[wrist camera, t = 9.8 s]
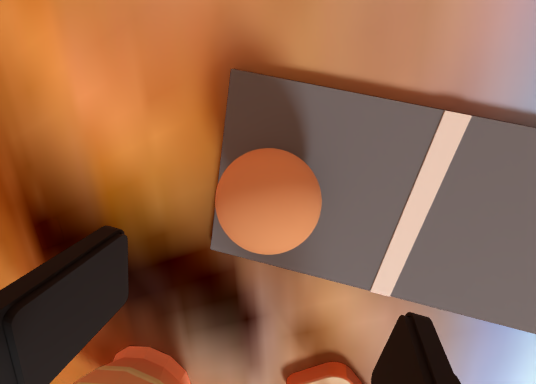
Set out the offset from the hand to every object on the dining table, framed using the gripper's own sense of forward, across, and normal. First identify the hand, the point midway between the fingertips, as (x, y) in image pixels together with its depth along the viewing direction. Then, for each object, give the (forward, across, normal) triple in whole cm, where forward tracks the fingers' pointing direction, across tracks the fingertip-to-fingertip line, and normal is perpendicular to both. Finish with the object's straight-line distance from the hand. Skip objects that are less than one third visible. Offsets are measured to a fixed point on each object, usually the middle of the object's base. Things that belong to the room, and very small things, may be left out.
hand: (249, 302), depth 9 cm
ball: (+7, +1, 0) cm, 7 cm away
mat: (+11, -10, 0) cm, 15 cm away
